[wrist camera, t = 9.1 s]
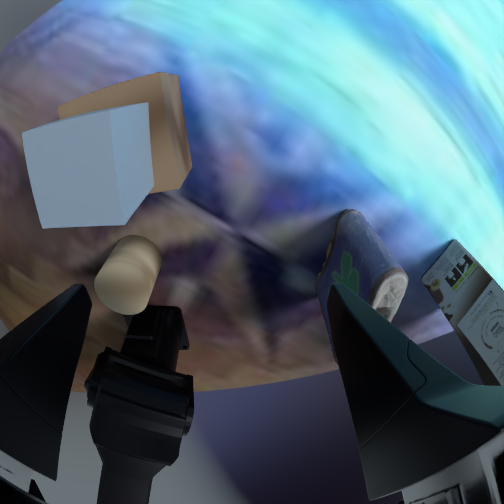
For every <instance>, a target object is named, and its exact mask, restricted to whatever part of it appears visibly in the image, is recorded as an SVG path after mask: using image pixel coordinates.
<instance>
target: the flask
mask: <svg viewBox="0 0 504 504" xmlns="http://www.w3.org/2000/svg"><path fill="white" fill-rule="evenodd" d="M334 229H335V233H334V236H333V238H332V240H331V242H330V243H329V246H328V247H327V251H326V254H327V255H326V256H327V259H326V261H325V262H324V263H322V264H323V269H322V271H321V272H320V273H318V277H317V279H316V281H315V283H314V287H315V290H316V292H317V295H318V298H319V301H320V305H321V309H322V313H323V317H324V320H325V324H326V327H327V331H328V334H329V339H330V343H331V346H332V351H333V356H334V358H335V362H337V364H338V361H337V358H336V354H335V350H334V346H333V342H332V336H331V329H330V323H329V317H328V311H327V300H328V296H329V291H330V287H331V285H332V284H344V285H345V286H347V287H348V288H349V289H350V290H352V291H353V292H354V293H355V294H356V295H358V296H359V297H360V298H361V299H363V300H364V301H365V302H366V303H368V304H369V305H370V306H371V307H372V308H374V309H375V310H376V311H377V312H378V313H380V314H381V315H382V316H383V317H384V318H386V319H387V320H388V321H389V322H390V323H391V321H392V319H393V317H394V315H395V314H396V312H397V310H398V308H399V305H400V303H401V300H402V298H403V296H404V294H405V290H406V288H407V285H408V276H407V274H406V273H405V272H404V270H403V268H402V267H401V266H400V265H399V263H398V262H397V261H396V259H395V258H394V256H393V255H392V254H391V252H390V251H389V249H388V248H387V247H386V245H385V244H384V242H383V241H382V240H381V238H380V237H379V236H378V235H377V234H376V233H375V231H374V230H373V229H372V227H371V226H370V225H369V223H368V222H367V221H366V219H365V218H364V216H363V215H362V214H361V213H360V212H358V211H356V210H353V209H352V210H345V211H344V212H343V213H342V214H341V216H340V217H339V218H338V220H337V222H336V224H335V227H334Z"/></svg>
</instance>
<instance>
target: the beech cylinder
mask: <svg viewBox="0 0 504 504" xmlns="http://www.w3.org/2000/svg"><path fill="white" fill-rule="evenodd" d="M161 264H162V257H161V254H160V251H159V250H158V248H157V247H156V245H155V244H154V243H153V242H151V241H150V240H149V239H147V238H145V237H142V236H138V235H129V236H126V237H123V238H122V239H121V240H119V242H118V243H117V245H116V246H115V248H114V249H113V251H112V252H111V254H110V255H109V257H108V258H107V260H106V262H105V263H104V265H103V266H102V268H101V270H100V271H99V273H98V274H97V276H96V278H95V281H94V289H95V292H96V294H97V296H98V298H99V299H100V301H101V302H102V303H103V304H104V305H105V306H107V307H108V308H110V309H111V310H113V311H115V312H117V313H120V314H125V315H134V314H138V313H140V312H142V311H143V310H144V309H145V308H146V306H147V304H148V301H149V298H150V295H151V292H152V289H153V287H154V284H155V281H156V278H157V276H158V273H159V270H160V268H161Z"/></svg>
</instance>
